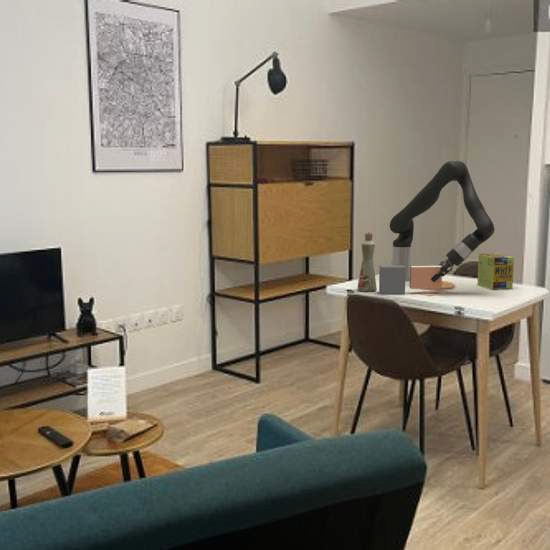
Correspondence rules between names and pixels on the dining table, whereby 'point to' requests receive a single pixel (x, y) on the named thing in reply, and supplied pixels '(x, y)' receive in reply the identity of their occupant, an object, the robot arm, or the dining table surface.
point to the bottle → (367, 266)
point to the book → (424, 277)
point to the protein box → (495, 271)
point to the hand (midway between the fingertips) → (431, 280)
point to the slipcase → (392, 279)
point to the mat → (430, 293)
